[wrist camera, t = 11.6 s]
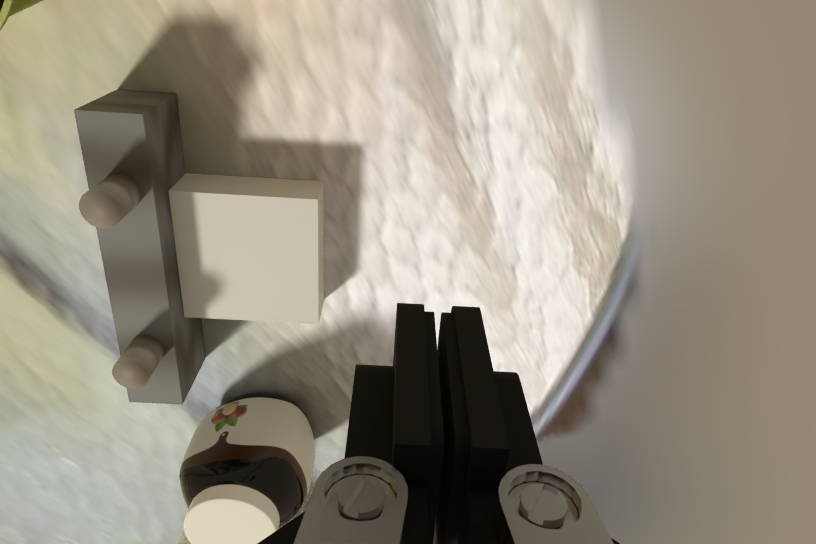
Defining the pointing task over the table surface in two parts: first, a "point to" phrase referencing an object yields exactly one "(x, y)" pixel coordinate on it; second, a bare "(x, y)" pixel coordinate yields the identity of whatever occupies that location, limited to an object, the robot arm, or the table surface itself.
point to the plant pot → (13, 8)
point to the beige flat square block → (249, 247)
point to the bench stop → (140, 239)
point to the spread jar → (246, 470)
